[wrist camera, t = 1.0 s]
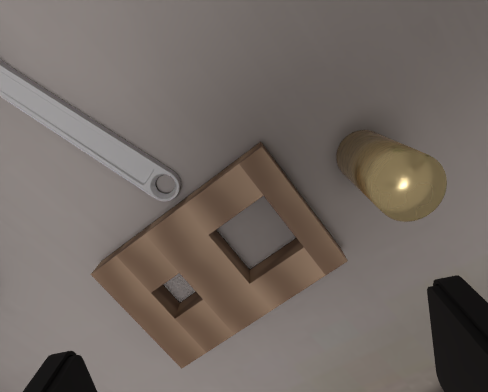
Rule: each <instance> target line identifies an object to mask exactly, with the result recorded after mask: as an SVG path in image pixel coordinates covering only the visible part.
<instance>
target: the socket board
mask: <svg viewBox="0 0 488 392" xmlns="http://www.w3.org/2000/svg"><path fill="white" fill-rule="evenodd" d="M263 195H264V197H265V198H266V199H267V200H268V202H269V203H270V204H271V206H272V207H273V208H274V209H275V211H276V212H277V213H278V215H279V216H280V217H281V218H282V220H283V221H284V222H285V224H286V225H287V226H288V227H289V229H290V230H291V231H292V233H293V234H294V235H295V237H296V239H294V240H293V241H292V242H290V243H289V244H287V245H286V246H284V247H283V248H281V249H280V250H278V251H277V252H275V253H274V254H272V255H271V256H269V257H268V258H266V259H265V260H264V261H262V262H261V263H259V264H258V265H256V266H255V267H253V268H252V269H250V270H249V269H248V268H247V266H246V265H245V264H244V263H243V262H242V260H241V259H240V258H239V257H238V256H237V254H236V253H235V252H234V251H233V250H232V248H231V247H230V246H229V245H228V244H227V242H226V241H225V240H224V239H223V238H222V236H221V235H220V234H219V233H218V232H217V231H216V229H218V228H219V227H220V226H222V225H223V224H224V223H226V222H227V221H229V220H230V219H231V218H233V217H234V216H236V215H237V214H238V213H240V212H241V211H243V210H244V209H245V208H247V207H248V206H250V205H251V204H252V203H254V202H255V201H257V200H258V199H259V198H261V197H262V196H263ZM345 262H347V259H346V257H345V255H344V253H343V251H342V250H341V248H340V247H339V245H338V244H337V243H336V241H335V240H334V239H333V237H332V236H331V235H330V233H329V232H328V231H327V229H326V228H325V227H324V225H323V224H322V223H321V221H320V220H319V219H318V217H317V216H316V215H315V213H314V212H313V211H312V209H311V208H310V207H309V205H308V204H307V203H306V201H305V200H304V199H303V197H302V196H301V195H300V193H299V192H298V191H297V189H296V188H295V187H294V185H293V184H292V183H291V181H290V180H289V179H288V177H287V176H286V175H285V173H284V172H283V171H282V169H281V168H280V167H279V165H278V164H277V163H276V161H275V160H274V159H273V157H272V156H271V155H270V153H269V152H268V151H267V149H266V148H265V147H264V145H263V144H262V143H261V142H260V143H258V144H257V145H256V146H254V147H253V148H252V149H250V150H249V151H248V152H246V153H245V154H244V155H242V156H241V157H240V158H238V159H237V160H236V161H234V162H233V163H232V164H230V165H229V166H228V167H226V168H225V169H224V170H222V171H221V172H220V173H218V174H217V175H216V176H214V177H213V178H212V179H210V180H209V181H208V182H206V183H205V184H204V185H202V186H201V187H200V188H198V189H197V190H196V191H194V192H193V193H192V194H190V195H189V196H188V197H186V198H185V199H184V200H182V201H181V202H180V203H178V204H177V205H176V206H174V207H173V208H172V209H170V210H169V211H168V212H166V213H165V214H164V215H162V216H161V217H160V218H158V219H157V220H156V221H154V222H153V223H152V224H150V225H149V226H148V227H146V228H145V229H144V230H142V231H141V232H140V233H138V234H137V235H136V236H134V237H133V238H132V239H130V240H129V241H128V242H126V243H125V244H124V245H122V246H121V247H120V248H118V249H117V250H116V251H114V252H113V253H112V254H110V255H109V256H108V257H106V258H105V259H104V260H102V261H101V262H100V264H99V265H98V266H97V267H96V269H95V270H94V271H93V272H92V274H91V275H92V276H93V277H94V278H95V279H96V280H97V281H98V282H99V283H100V285H101V286H102V287H103V288H104V289H105V290H106V291H107V292H108V293H109V294H110V295H111V296H112V297H113V298H114V299H115V300H116V301H117V302H118V303H119V304H120V305H121V306H122V307H123V308H124V309H125V310H126V311H127V312H128V313H129V315H130V316H131V317H132V318H133V319H134V320H135V321H136V322H137V323H138V324H139V325H140V326H141V327H142V328H143V329H144V330H145V331H146V332H147V333H148V334H149V335H150V336H151V337H152V338H153V339H154V340H155V341H156V342H157V344H158V345H159V346H160V347H161V348H162V349H163V350H164V351H165V352H166V353H167V354H168V355H169V356H170V357H171V358H172V359H173V360H174V361H175V362H176V363H177V364H178V365H179V366H180V367H181V368H183V367H185V366H186V365H188V364H190V363H191V362H193V361H194V360H196V359H197V358H199V357H200V356H202V355H203V354H205V353H207V352H208V351H210V350H211V349H213V348H214V347H216V346H217V345H219V344H220V343H222V342H224V341H225V340H227V339H228V338H230V337H231V336H233V335H234V334H236V333H237V332H239V331H241V330H242V329H244V328H245V327H247V326H248V325H250V324H251V323H253V322H254V321H256V320H257V319H259V318H261V317H262V316H264V315H265V314H267V313H268V312H270V311H271V310H273V309H274V308H276V307H278V306H279V305H281V304H282V303H284V302H285V301H287V300H288V299H290V298H291V297H293V296H295V295H296V294H298V293H299V292H301V291H302V290H304V289H305V288H307V287H308V286H310V285H312V284H313V283H315V282H316V281H318V280H319V279H321V278H322V277H324V276H325V275H327V274H328V273H330V272H332V271H333V270H335V269H336V268H338V267H339V266H341V265H342V264H344V263H345ZM178 273H180V274H181V275H182V276H183V277H184V279H185V280H186V281H187V282H188V283H189V284H190V285H191V286H192V287H193V289H194V290H195V291H196V292H195V293H194V294H192V295H191V296H189V297H188V298H186V299H185V300H183V301H182V302H180V303H179V302H178V301H177V300H176V299H175V297H174V296H173V295H172V294H171V293H170V292H169V291H168V290H167V289H166V288H165V286H164V285H163V284H164V283H166V282H167V281H168V280H170V279H171V278H173V277H174V276H176V275H177V274H178Z"/></svg>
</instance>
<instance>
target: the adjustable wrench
mask: <svg viewBox="0 0 488 392" xmlns="http://www.w3.org/2000/svg"><path fill="white" fill-rule="evenodd" d="M0 97H2V98H3V99H5V100H6V101H8V102H9V103H11V104H12V105H14V106H15V107H17V108H18V109H20V110H21V111H23V112H24V113H26V114H27V115H29V116H30V117H32V118H33V119H35V120H36V121H38V122H39V123H41V124H43V125H44V126H46V127H47V128H49V129H50V130H52V131H53V132H55V133H56V134H58V135H59V136H61V137H62V138H64V139H65V140H67V141H68V142H70V143H71V144H73V145H74V146H76V147H77V148H79V149H80V150H82V151H84V152H85V153H87V154H88V155H90V156H91V157H93V158H94V159H96V160H97V161H99V162H100V163H102V164H103V165H105V166H106V167H108V168H109V169H111V170H112V171H114V172H115V173H117V174H118V175H120V176H121V177H123V178H125V179H126V180H128V181H129V182H131V183H132V184H134V185H135V186H137V187H138V188H140V189H141V190H143V191H144V192H146V193H147V194H149V195H150V196H152V197H153V198H155V199H157V200H159V201H170V200H172V199H174V198H175V197H176V196H177V194H178V192H179V190H180V188H181V180H180V178H179V176H178V174H177V173H175V172H174V171H173V170H171V169H170V168H168V167H167V166H165V165H164V164H162V163H160V162H159V161H157V160H156V159H154V158H153V157H151V156H149V155H148V154H146V153H145V152H143V151H142V150H140V149H139V148H137V147H135V146H134V145H132V144H131V143H129V142H128V141H126V140H124V139H123V138H121V137H120V136H118V135H117V134H115V133H114V132H112V131H110V130H109V129H107V128H106V127H104V126H103V125H101V124H99V123H98V122H96V121H95V120H93V119H92V118H90V117H88V116H87V115H85V114H84V113H82V112H81V111H79V110H78V109H76V108H74V107H73V106H71V105H70V104H68V103H67V102H65V101H63V100H62V99H60V98H59V97H57V96H56V95H54V94H53V93H51V92H49V91H48V90H46V89H45V88H43V87H42V86H40V85H38V84H37V83H35V82H34V81H32V80H31V79H29V78H27V77H26V76H24V75H23V74H21V73H20V72H18V71H17V70H15V69H13V68H12V67H10V66H9V65H8V64H7V63H5V62H4V61H3V60H2V59H1V58H0ZM161 175H168V176H170V177H171V178H173V180H174V182H175V188H174V190H173V191H172V192H170V193H167V194H164V193H161V192H159V191H158V190H157V188H156V185H155V183H156V179H157V178H158V177H159V176H161Z"/></svg>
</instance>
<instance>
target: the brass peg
mask: <svg viewBox="0 0 488 392" xmlns="http://www.w3.org/2000/svg"><path fill="white" fill-rule="evenodd" d="M337 164H338V167H339V169H340V170H341V171H342V173H343V174H344V175H345V176H346V177H347V178H348V179H349V180H350V181H351V182H352V183H353V184H354V185H355V186H356V187H357V188H358V189H359V190H361V191H362V192H363V193H364V194H365V195H366V196H367V197H368V198H369V199H370V200H371V201H372V202H373V203H374V204H375V205H376V206H377V207H378V208H379V209H380V210H381V211H382V212H383V213H384V214H385V215H386V216H388V217H390V218H392V219H394V220H397V221H404V222H408V221H415V220H418V219H421V218H423V217H425V216H427V215H429V214H430V213H431V212H433V211H434V210H435V209H436V208H437V207H438V205H439V204H440V203H441V201H442V199H443V197H444V195H445V191H446V186H447V180H446V174H445V171H444V169H443V167H442V166H441V164H440V163H439V162H438V161H437V160H436V159H434V158H433V157H431V156H429V155H427V154H425V153H422V152H420V151H418V150H415V149H413V148H411V147H408V146H406V145H403V144H401V143H399V142H396V141H394V140H392V139H389V138H387V137H384V136H382V135H380V134H377V133H375V132H372V131H369V130H359V131H356V132H353V133H351V134H349V135H348V136H347V137H345V138H344V139H343V141H342V142H341V143H340V145H339V147H338V150H337Z"/></svg>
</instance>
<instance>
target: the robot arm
mask: <svg viewBox="0 0 488 392" xmlns="http://www.w3.org/2000/svg"><path fill="white" fill-rule="evenodd" d="M427 294H428V303H429V312H430V321H431V330H432V338H433V347H434V356H435V365H436V373H437V377H438V380H439V382H440V385H441V387H442V389H443V390H444V392H488V303H487V302H486V301H485V300H484V299H483V298H482V297H481V296H480V295H479V294H478V293H477V292H476V291H475V290H474V289H473V288H472V287H471V286H470V285H469V284H468V283H467V282H466V281H465V280H463V279H462V278H461V277H460V276H457V275H456V276H451V277H446V278H441V279H436V280H434V283H433V286H431V287H428V289H427ZM23 392H97V390H96V388H95V386H94V383H93V381H92V379H91V376H90V374H89V372H88V369H87V367H86V365H85V363H84V360H83V358H82V357H81V356H80V355H76V353H75V352H73V351H67V352H62V353H57V354H52V355H50V356H49V357H48V358H47V359H46V360H45V362H44V363H43V364H42V366H41V367H40V368H39V370H38V371H37V373H36V374H35V375H34V377H33V378H32V380H31V381H30V382H29V384H28V385H27V387H26V388H25V389H24V391H23Z"/></svg>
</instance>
